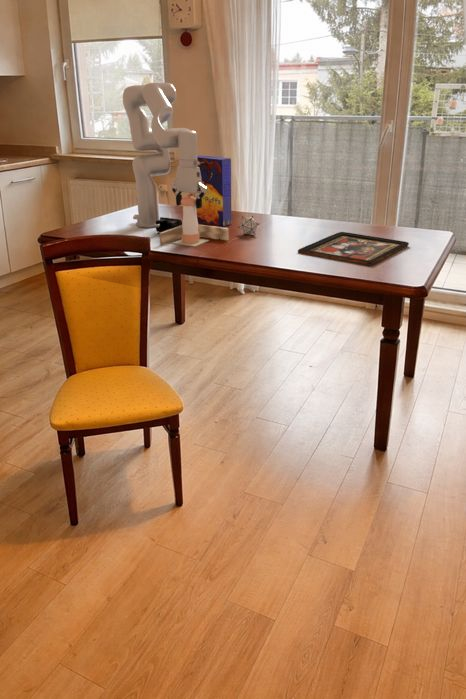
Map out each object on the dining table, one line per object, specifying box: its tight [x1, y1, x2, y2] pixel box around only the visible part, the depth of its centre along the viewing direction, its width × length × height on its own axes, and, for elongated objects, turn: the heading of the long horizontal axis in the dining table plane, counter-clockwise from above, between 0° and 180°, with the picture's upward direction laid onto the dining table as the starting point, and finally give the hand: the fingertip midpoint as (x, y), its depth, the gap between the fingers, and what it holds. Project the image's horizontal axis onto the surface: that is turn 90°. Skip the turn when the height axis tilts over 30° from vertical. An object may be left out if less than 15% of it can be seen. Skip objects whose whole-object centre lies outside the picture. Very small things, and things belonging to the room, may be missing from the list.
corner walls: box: [159, 223, 230, 246], centre depth 247 cm, size 21×21×5 cm
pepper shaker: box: [181, 194, 200, 243], centre depth 244 cm, size 7×7×19 cm
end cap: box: [155, 216, 183, 236], centre depth 261 cm, size 10×7×7 cm
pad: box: [172, 238, 210, 247], centre depth 248 cm, size 11×11×1 cm
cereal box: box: [188, 154, 233, 227], centre depth 276 cm, size 22×6×30 cm, turn 48°
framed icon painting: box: [297, 231, 410, 267], centre depth 235 cm, size 38×35×3 cm
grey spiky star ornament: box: [237, 215, 260, 236], centre depth 258 cm, size 9×8×10 cm
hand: (189, 206), depth 243 cm, fingers open, 9 cm apart
